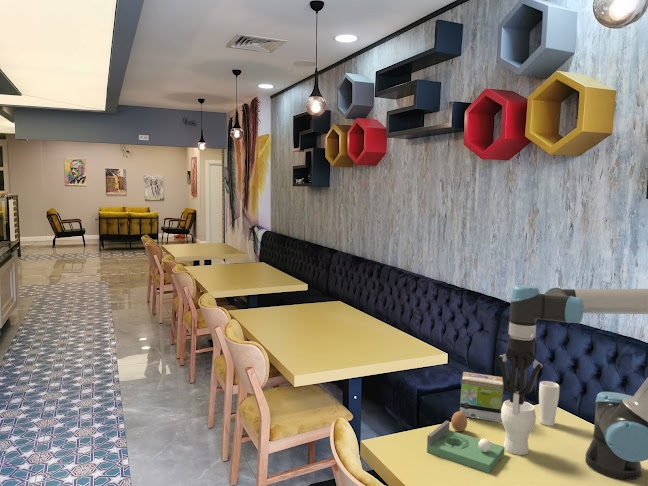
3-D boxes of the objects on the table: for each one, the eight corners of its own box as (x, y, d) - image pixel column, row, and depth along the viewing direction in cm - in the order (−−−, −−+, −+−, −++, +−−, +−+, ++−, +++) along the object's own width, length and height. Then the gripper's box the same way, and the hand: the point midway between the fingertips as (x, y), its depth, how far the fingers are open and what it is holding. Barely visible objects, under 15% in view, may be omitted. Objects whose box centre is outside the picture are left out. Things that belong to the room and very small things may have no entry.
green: (504, 454, 164) (505, 437, 164) (488, 473, 152) (489, 455, 152) (445, 435, 176) (446, 420, 176) (426, 452, 164) (427, 435, 164)
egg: (448, 427, 183) (449, 408, 182) (463, 427, 184) (464, 408, 183) (454, 434, 178) (455, 414, 177) (469, 434, 178) (470, 414, 178)
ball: (492, 451, 161) (493, 438, 161) (488, 455, 158) (489, 443, 157) (480, 447, 163) (481, 435, 163) (475, 451, 160) (476, 439, 160)
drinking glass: (542, 418, 194) (545, 379, 193) (560, 424, 189) (563, 384, 188) (533, 422, 190) (536, 383, 189) (551, 428, 185) (554, 388, 184)
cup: (536, 459, 162) (539, 413, 161) (501, 455, 164) (504, 409, 163) (529, 444, 172) (532, 400, 171) (496, 440, 174) (499, 397, 173)
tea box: (459, 417, 193) (461, 378, 192) (460, 407, 202) (462, 370, 201) (501, 423, 188) (503, 384, 187) (500, 413, 198) (502, 375, 197)
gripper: (547, 338, 152) (541, 415, 153) (503, 330, 159) (498, 404, 161) (541, 343, 145) (535, 423, 147) (495, 335, 153) (490, 411, 155)
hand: (516, 413), depth 154 cm, fingers closed
